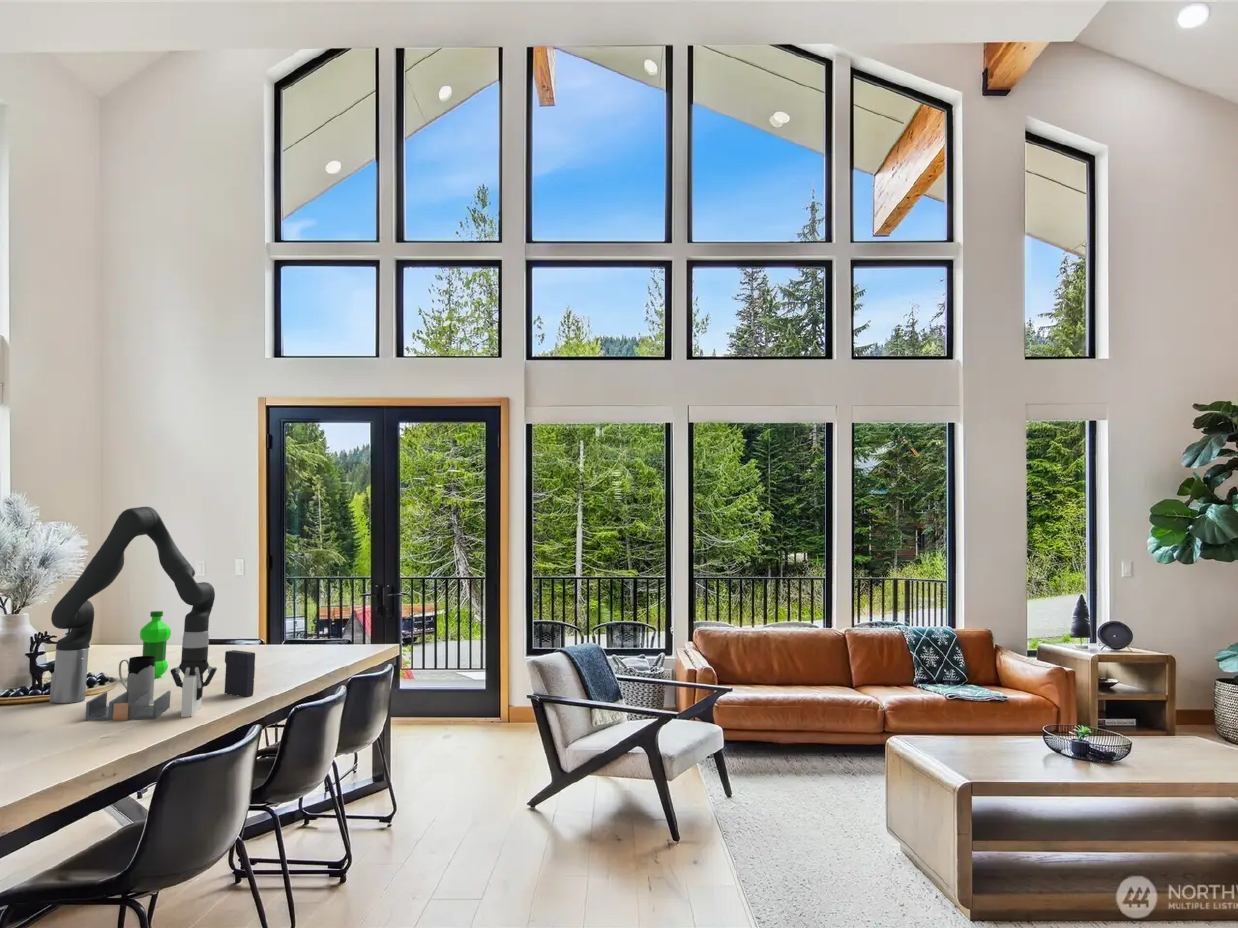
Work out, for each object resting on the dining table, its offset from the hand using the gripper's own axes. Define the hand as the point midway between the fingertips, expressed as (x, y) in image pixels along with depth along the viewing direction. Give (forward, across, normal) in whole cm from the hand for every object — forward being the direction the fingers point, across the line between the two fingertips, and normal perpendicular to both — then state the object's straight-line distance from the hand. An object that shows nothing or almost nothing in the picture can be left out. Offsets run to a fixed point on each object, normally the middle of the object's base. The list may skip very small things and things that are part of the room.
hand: (192, 699), depth 266 cm
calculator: (+4, +9, +26) cm, 28 cm away
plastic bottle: (+4, -29, +64) cm, 70 cm away
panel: (+4, 0, 0) cm, 4 cm away
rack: (+4, -18, 0) cm, 18 cm away
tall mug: (+4, -22, +18) cm, 28 cm away
